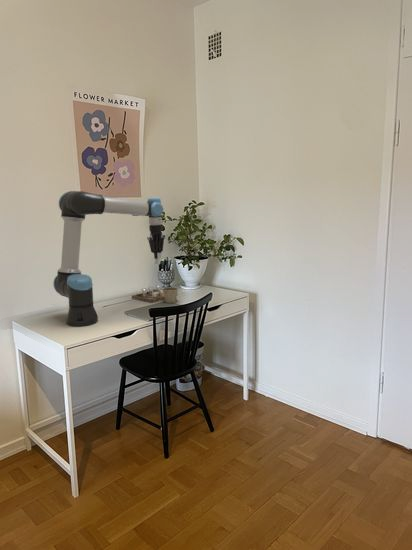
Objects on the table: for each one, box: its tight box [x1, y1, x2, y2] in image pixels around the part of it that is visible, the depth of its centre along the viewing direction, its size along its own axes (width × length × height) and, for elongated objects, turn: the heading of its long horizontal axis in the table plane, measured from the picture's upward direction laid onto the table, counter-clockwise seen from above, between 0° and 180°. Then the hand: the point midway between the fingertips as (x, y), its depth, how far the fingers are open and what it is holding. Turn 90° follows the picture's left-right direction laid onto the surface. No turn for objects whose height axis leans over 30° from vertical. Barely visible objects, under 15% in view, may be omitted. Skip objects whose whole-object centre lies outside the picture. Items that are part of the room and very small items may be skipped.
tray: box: [131, 289, 179, 304], centre depth 256 cm, size 22×17×3 cm
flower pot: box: [161, 286, 179, 304], centre depth 245 cm, size 9×9×9 cm
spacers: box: [141, 284, 162, 299], centre depth 256 cm, size 17×14×5 cm
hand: (157, 263), depth 254 cm, fingers closed
